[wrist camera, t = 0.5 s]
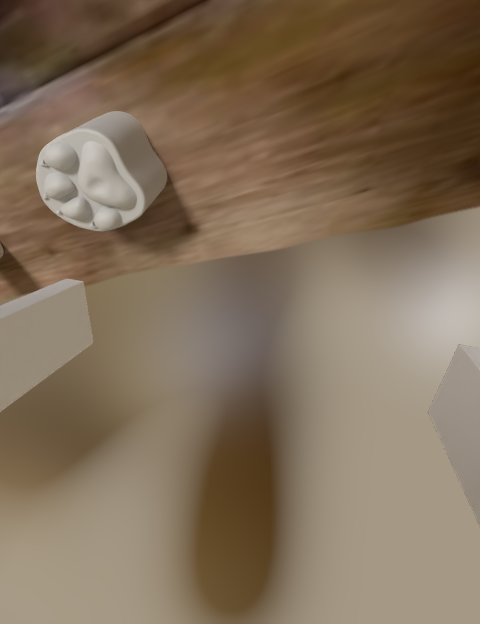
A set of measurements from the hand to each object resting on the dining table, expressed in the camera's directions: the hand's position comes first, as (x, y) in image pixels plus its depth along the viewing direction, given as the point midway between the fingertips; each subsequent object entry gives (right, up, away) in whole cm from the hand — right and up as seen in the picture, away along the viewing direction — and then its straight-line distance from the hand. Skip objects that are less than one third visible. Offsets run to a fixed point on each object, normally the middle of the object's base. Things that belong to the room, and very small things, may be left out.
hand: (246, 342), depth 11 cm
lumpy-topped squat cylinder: (-16, +20, +28) cm, 38 cm away
